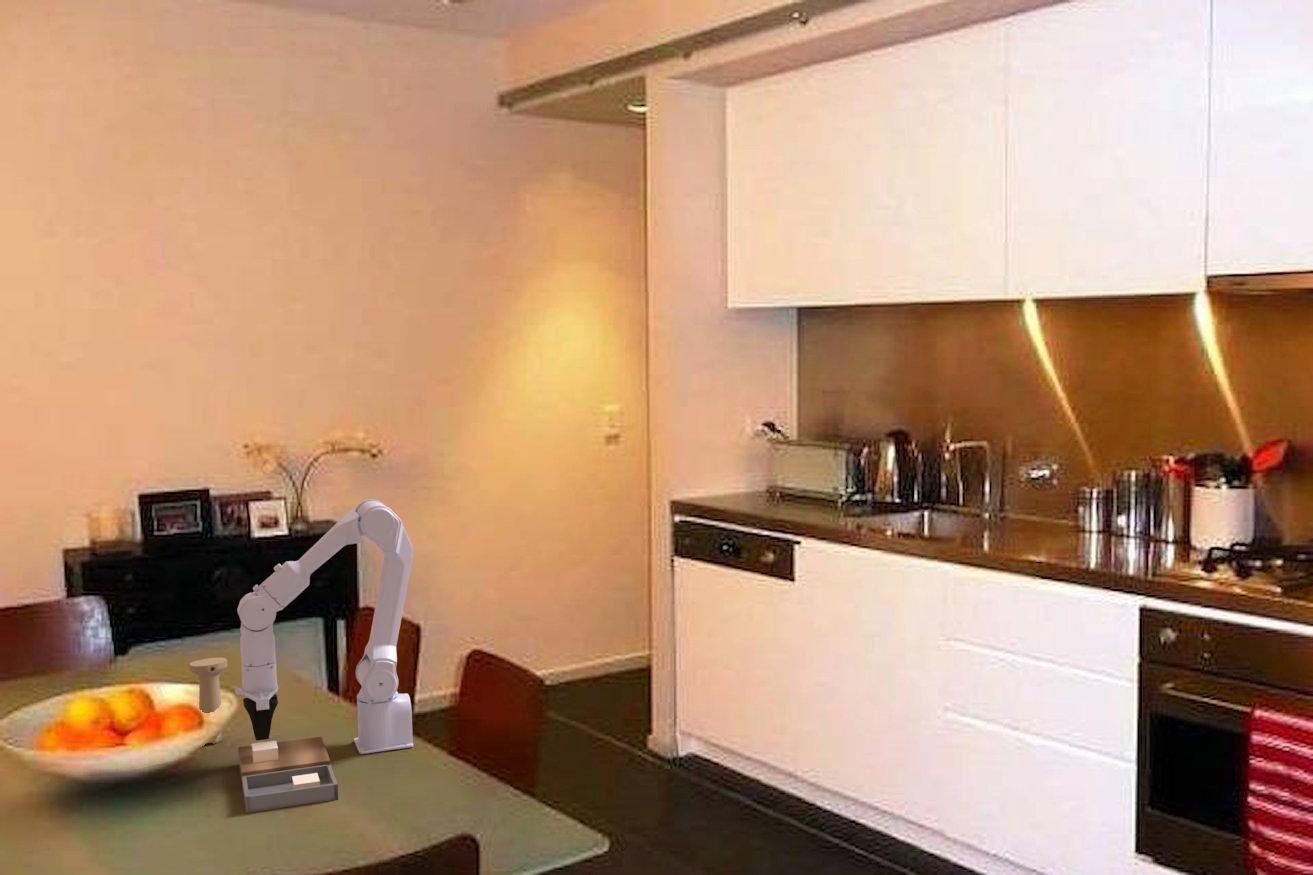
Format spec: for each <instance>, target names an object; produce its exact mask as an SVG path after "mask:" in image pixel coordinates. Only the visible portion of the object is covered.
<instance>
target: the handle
mask: <svg viewBox="0 0 1313 875" xmlns="http://www.w3.org/2000/svg"><path fill="white" fill-rule="evenodd" d="M188 665H189V666H188V667H189V671H190V672H191V673H193V674H195V675H197V676H198V680H199V682H198V684H199V689H198V690H199V692H198V694H199V695H198V696H199V697H198V698H199V700H198V710H199V709H200V710H202V712H204V713H210V712H214V711H215V710H216V709H217V708H219V706H220V705H221V703H222V696H221V686H220V673H221V672H223V671H224V670H225V669H226V668H227V667H228V659H227V658H226V657H209V658H203V659H199V660H194V661H192V662H189V664H188ZM222 731H223V730H222ZM222 731H221V732H220V733H219V734H218V736H217V738H215V740H213V743H214V742H215V743H216V744H217V743H220V742H221V741H222V738H223V734H222Z"/></svg>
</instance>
